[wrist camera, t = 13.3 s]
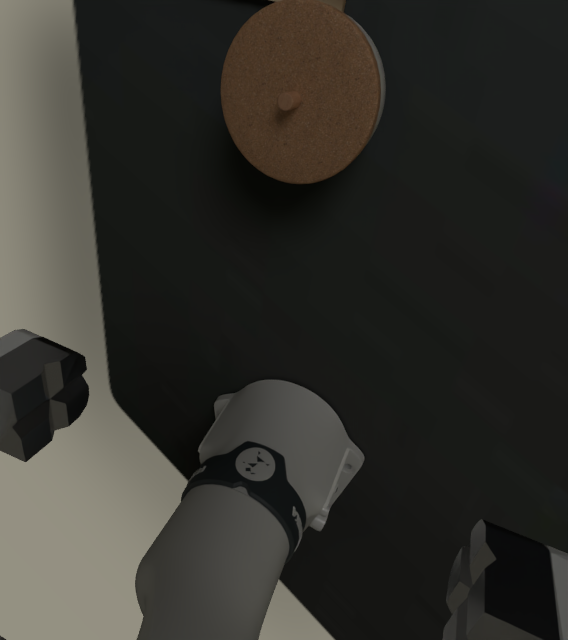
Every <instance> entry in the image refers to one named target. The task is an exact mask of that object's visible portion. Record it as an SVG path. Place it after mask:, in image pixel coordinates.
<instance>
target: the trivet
mask: <svg viewBox="0 0 568 640" xmlns="http://www.w3.org/2000/svg"><path fill="white" fill-rule="evenodd" d="M270 1H275V2H278V1H281V0H270ZM318 1H320V2H323V3H326V4H329V5H331V6H333V7H335V8H337V9H338V10H340V11H342V12H343V13H344V8H345V3H346V0H318Z"/></svg>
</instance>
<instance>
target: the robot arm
mask: <svg viewBox="0 0 568 640" xmlns="http://www.w3.org/2000/svg"><path fill="white" fill-rule="evenodd" d="M86 370H87V367H86V361H85V357H84V356H83V355H81V354H79V353H78V352H75V351H73V350H71V349H69V348H66V347H64V346H62V345H59V344H58V343H55V342H53V341H51V340H48V339H46V338H44V337H41V336H39V335H37V334H34V333H32V332H30V331H27V330H25V329H21V330H14V331H12V332H10V333H8V334H7V335H5V336H3V337H1V338H0V451H2V452H5V453H7V454H9V455H11V456H13V457H16V458H18V459H20V460H22V461H24V462H27V461H28V460H29V459H30V458H31V457H33V456H34V455H35V454H36V453H38V452H39V451H40V450H41V449H42V448H43V447H45V446H46V445H47V444H48V443H49V442H51V441H52V438H53V435H54V431H55V430H57V429H61V428H65V427H68V426H70V425H71V424H72V423H73V422H74V421H75V420H76V419H77V418H79V416H80V415H81V413H82V412H83V410H84V409H85V407H86V405H87V402H88V397H89V387H88V384H87V383H86V381H85V379H84V378H83V376H82V374H83V373H84V372H85V371H86ZM214 411H215V418H216V420H215V422H214V423H213V425H212V427H211V428H210V430H209V431H208V433H207V434H206V436H205V438H204V439H203V441H202V442H201V444H200V446H199V449H198V452H199V453H200V455H199V458H200V463H201V466H200V467H199V468H198V470H197V471H196V472H195V473H194V474H193V475H192V477H191V478H190V480H189V482H188V484H187V487H186V488H185V490H184V492H183V494H182V497H181V503H180V505H179V506H178V507H177V509H176V510H175V512H174V513H173V515H172V516H171V518H170V519H169V521H168V522H167V524H166V525H165V526H164V528H163V529H162V531H161V532H160V534H159V535H158V537H157V538H156V540H155V541H154V542H153V544H152V546H151V547H150V548H149V550H148V551H147V553H146V554H145V556H144V557H143V559H142V560H141V562H140V564H139V567H138V570H137V574H136V580H135V587H136V594H137V599H138V603H139V606H140V609H141V611H142V614H143V616H144V617H143V621H142V625H141V628H140V631H139V635H138V638H137V640H258V639H259V634H260V630H261V627H262V624H263V621H264V618H265V615H266V612H267V609H268V606H269V604H270V601H271V598H272V595H273V593H274V590H275V587H276V585H277V582H278V579H279V577H280V574H281V571H282V569H283V566H284V564H286V563H287V562H288V561H289V560H290V559H291V557H292V555H293V553H294V552H295V550H296V549H297V547H298V545H299V543H300V540H301V537H302V532H303V531H304V530H305V529H306V528H307V527H308V526H309V525H310V527H312V528H314V529H315V530H317V531H321V530H322V528H323V526H324V524H325V522H326V520H327V517H328V512H329V510H330V507H331V505H332V504H333V503H334V501H335V500H336V499H337V497H338V496H339V495H340V494H341V492H342V491H343V490H344V488H345V487H346V486H347V485H348V483H349V482H350V481H351V479H352V478H353V477H354V476H355V474H356V473H357V472H358V470H359V469H360V468H361V466H362V464H363V462H364V455H363V453H362V452H361V451H360V449H359V448H358V447H357V446H356V445H355V444H354V443H353V442H352V441H351V440H350V439H349V437H348V436H347V434H346V431H345V429H344V427H343V424H342V422H341V420H340V419H339V417H338V416H337V414H336V413H335V412H334V410H333V409H332V408H331V407H330V406H329V405H328V404H327V403H326V402H325V401H324V400H323V399H321V398H320V397H319V396H317V395H316V394H314V393H313V392H311V391H310V390H308V389H306V388H304V387H302V386H299V385H297V384H294V383H290V382H287V381H281V380H261V381H257V382H254V383H251V384H249V385H247V386H246V387H244V388H243V389H242V390H240V391H238V392H236V393H231V394H224V395H221V396H219V397H218V398H217V399H216V401H215V403H214ZM349 464H350V465H349ZM446 602H447V604H448V606H449V608H450V611H451V613H452V617H451V618H450V620H449V621H448V623H447V624H446V626H445V627H444V633H443V640H568V554H567V553H564V552H562V551H559V550H557V549H554V548H552V547H549V546H547V545H543V544H542V543H540V542H538V541H535V540H533V539H530V538H528V537H525V536H523V535H520V534H518V533H515V532H513V531H510V530H508V529H505V528H503V527H500V526H498V525H495V524H493V523H490V522H488V521H485V520H483V519H482V520H480V521H479V522H478V523H477V524H476V525H475V527H474V528H473V530H472V532H471V545H469V546H465V547H462V548H461V550H460V552H459V553H458V555H457V557H456V559H455V562H454V565H453V567H452V570H451V573H450V578H449V583H448V590H447V600H446ZM0 640H6V639H4V638H3V637H1V636H0Z"/></svg>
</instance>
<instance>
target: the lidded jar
mask: <svg viewBox="0 0 568 640" xmlns="http://www.w3.org/2000/svg"><path fill="white" fill-rule="evenodd" d="M385 90H386V87H385V74H384V69H383V65H382V61H381V58H380V56H379V53H378V50H377V48H376V47H375V45H374V43H373V41H372V39H371V38H370V37H369V35H368V34H367V33H366V32H365V30H364V29H363V28H362V27H361V26H360V25H359V24H358V23H357V22H356V21H354V20H353V19H352V18H351V17H349V16H348V15H346V14H345V13H343V12H342V11H340V10H338V9H337V8H335V7H333V6H331V5H329V4H326V3H323V2H320V1H318V0H281V1H278V2H274V3H272V4H270V5H268V6H266V7H264V8H262V9H261V10H260V11H258V12H257V13H256V14H254V15H253V16H252V17H251V18H250V19H249V20H248V21H247V22H246V23H245V24H244V25H243V26H242V27H241V29H240V30H239V32H238V33H237V35H236V36H235V38H234V40H233V42H232V44H231V46H230V48H229V50H228V53H227V56H226V59H225V62H224V66H223V71H222V77H221V102H222V109H223V114H224V119H225V122H226V125H227V127H228V130H229V133H230V135H231V137H232V139H233V141H234V143H235V144H236V146H237V147H238V149H239V150H240V152H241V153H242V154H243V156H244V157H245V158H246V159H247V160H248V161H249V162H250V163H251V164H252V165H253V166H254V167H256V168H257V169H258V170H259V171H261V172H262V173H264V174H266V175H267V176H269V177H271V178H274V179H276V180H278V181H282V182H286V183H291V184H310V183H315V182H319V181H323V180H325V179H327V178H330V177H332V176H334V175H336V174H337V173H339V172H340V171H342V170H343V169H345V168H346V167H347V166H348V165H349V164H350V163H351V162H352V161H353V160H354V159H356V158H357V156H358V155H359V154H360V152H361V151H362V150H363V149H364V147H365V146H366V145H367V143H368V142H369V141H370V139H371V137H372V135H373V134H374V132H375V130H376V128H377V126H378V123H379V120H380V118H381V115H382V111H383V107H384V102H385Z"/></svg>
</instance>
